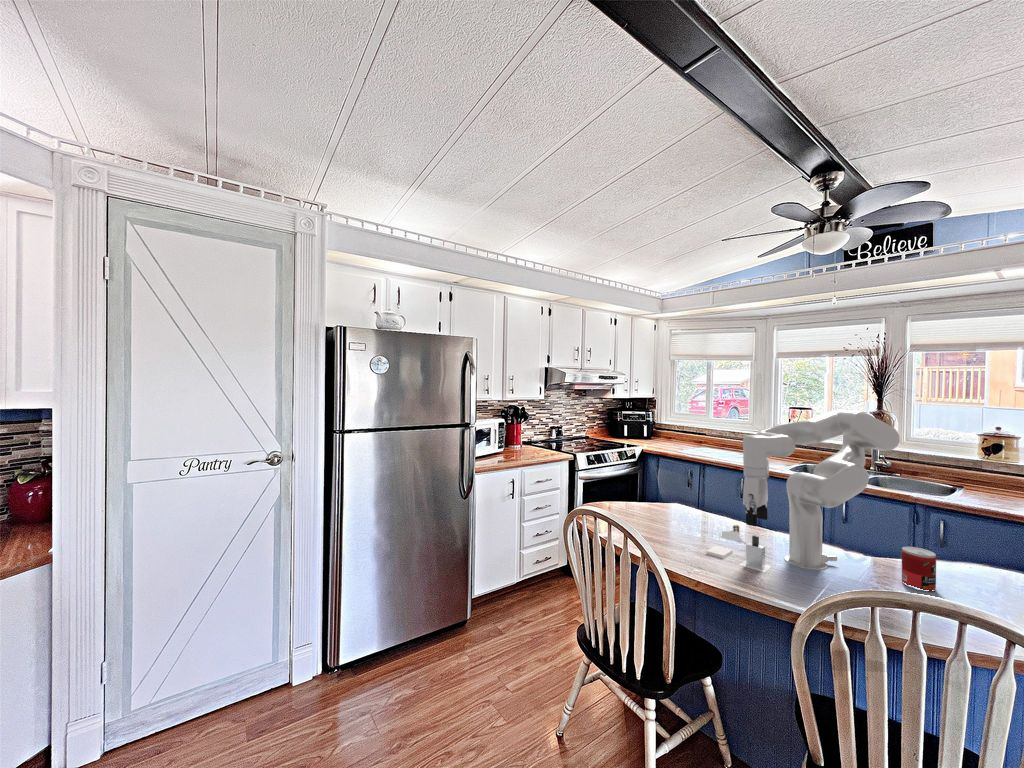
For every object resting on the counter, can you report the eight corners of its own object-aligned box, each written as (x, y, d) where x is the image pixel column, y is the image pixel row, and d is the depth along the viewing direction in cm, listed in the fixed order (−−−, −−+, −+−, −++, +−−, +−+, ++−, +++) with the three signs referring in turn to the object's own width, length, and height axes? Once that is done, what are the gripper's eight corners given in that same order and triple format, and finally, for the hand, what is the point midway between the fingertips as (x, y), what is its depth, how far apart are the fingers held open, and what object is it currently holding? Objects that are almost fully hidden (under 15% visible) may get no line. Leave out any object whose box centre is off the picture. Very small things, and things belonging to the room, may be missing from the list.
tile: (715, 545, 166) (706, 550, 161) (732, 549, 162) (723, 555, 156) (715, 548, 166) (706, 554, 161) (732, 553, 161) (723, 559, 156)
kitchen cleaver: (718, 523, 197) (744, 525, 193) (719, 525, 197) (744, 528, 193) (716, 541, 175) (745, 544, 171) (716, 543, 175) (745, 546, 171)
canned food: (927, 594, 132) (928, 557, 132) (895, 583, 139) (896, 548, 139) (941, 589, 135) (941, 553, 135) (909, 579, 142) (909, 544, 142)
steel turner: (748, 562, 153) (748, 533, 153) (764, 567, 149) (764, 537, 149) (746, 564, 151) (746, 535, 151) (762, 569, 147) (762, 539, 147)
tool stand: (746, 561, 155) (746, 559, 155) (771, 569, 150) (771, 566, 150) (738, 567, 151) (738, 565, 151) (764, 574, 145) (764, 572, 145)
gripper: (753, 466, 159) (754, 514, 159) (734, 474, 147) (735, 525, 147) (776, 469, 153) (777, 518, 153) (758, 477, 142) (759, 530, 142)
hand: (757, 522), depth 150 cm, fingers open, 9 cm apart
